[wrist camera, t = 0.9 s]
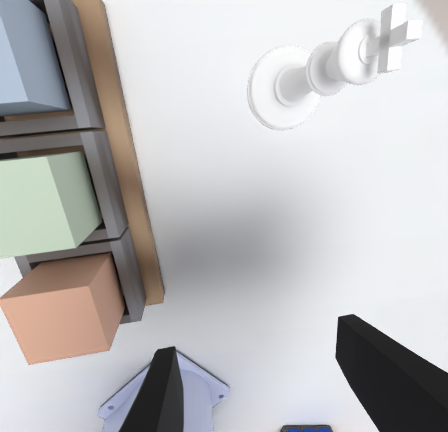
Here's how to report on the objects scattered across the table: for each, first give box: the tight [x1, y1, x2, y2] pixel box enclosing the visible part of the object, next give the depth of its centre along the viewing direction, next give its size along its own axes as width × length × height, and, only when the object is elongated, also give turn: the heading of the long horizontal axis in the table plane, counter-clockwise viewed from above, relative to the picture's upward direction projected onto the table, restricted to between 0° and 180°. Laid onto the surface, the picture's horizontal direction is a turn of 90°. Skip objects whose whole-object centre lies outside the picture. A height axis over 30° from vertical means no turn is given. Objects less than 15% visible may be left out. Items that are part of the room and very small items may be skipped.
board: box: [0, 0, 165, 324], centre depth 15 cm, size 19×8×4 cm, turn 6°
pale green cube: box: [0, 151, 102, 259], centre depth 12 cm, size 4×4×4 cm
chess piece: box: [247, 3, 423, 130], centre depth 11 cm, size 5×5×10 cm
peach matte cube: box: [0, 253, 126, 365], centre depth 14 cm, size 4×4×4 cm
